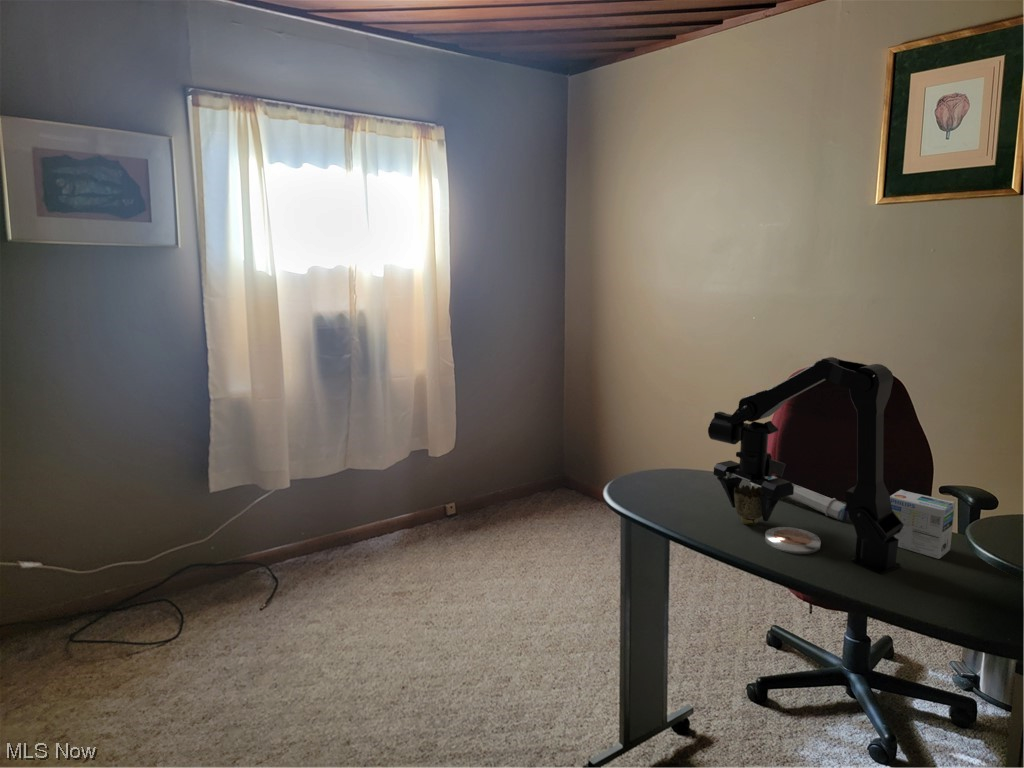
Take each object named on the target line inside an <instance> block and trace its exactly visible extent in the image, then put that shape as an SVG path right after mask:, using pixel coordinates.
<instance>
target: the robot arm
mask: <svg viewBox="0 0 1024 768" xmlns="http://www.w3.org/2000/svg"><path fill="white" fill-rule="evenodd" d="M826 380H827V381H829V382H831V383H833V384H834V385H837V386H839V387H842V388H845V389H848V390H849V396H850V400H851V403H852V405H853V407H854V409H855V410H856V420H857V422H856V423H857V424H856V428H857V429H856V484H855V486H853V487H851V488H849V489H848V490H845V494H844V495H845V502H846V503H845V505H846V508H845V511H848V517H847V518H848V519H849V521H850V522H851V523H852V524H853V527H854V530H855V533H856V539H855V540H856V541H855V550H854V551H855V553H854V554H855V555H854V556H855V557H852V558H851V562H852V563H855V564H857V565H859V566H862V567H863V568H865V569H868V570H871V571H873V572H875V573H876V574H880V575H882V574H885V573H888V572H891V571H893V570H896V569H898V568H901V566H902V565H901V563H899V562H897V557H898V548H899V547H898V540H899V539H897V538H895V537H894V535H896V534H898V533H900V531H901V530H902V528H903V526H904V524H903V523H902V522H901V521H900V519H899V518H898V517H897V516H896V514H895V513H894V512H893V511H892V506H891V501H890V496H891V495H890V492H889V491H888V489H887V487H886V484H885V481H884V437H885V436H884V431H885V430H884V429H885V428H884V423H885V416H884V415H885V409H886V406H887V404H888V401H889V399H890V397H891V393H892V388H893V383H894V375H893V372H892V371H891V370H890V369H889V368H888V367H887V366H886V365H883V364H882V363H872V364H864V363H860V362H854V361H849V360H843V359H839V358H836V357H833V356H829V357H825V358H821V359H818V360H817V361H816V362H815V363H814V364H812V365H810V366H808V367H807V368H804V369H803V370H802V371H799V372H797V373H795V374H794V375H792V376H790V377H789V378H787V379H786V380H783V381H782V382H780V383H779V384H777V385H775V386H773V387H771V388H768V389H767V388H766V389H764V390H761V391H759V392H755V393H753V394H752V393H751V394H749V395H747V396H744V397H742V398H741V399H740V400H739V402H738V408H737V409H736V410H735V411H734V413H732V414H731V413H726V412H724V411H717V412H714V415H713V418H712V419H711V421H710V423H709V426H708V428H707V433H708V437H709V439H711V440H713V441H717V442H721V443H726V444H730V445H736V444H738V443H739V442H740V450H739V451H736V452H735V457H736V458H739V463H738V462H736V461H733V460H725V461H720V462H717V463H716V464H715V465H714V467H713V475H714V476H715V477H716V479H717V480H718V481H719V483H720V484H721V486H722V488H723V490H724V491H725V494H726V496H727V498H728V500H729V502H730V504H731V507H732V508H734V509H736V508H735V498H734V488H738V486H739V487H740V484H741V482H742V481H743V480H744V481H747V482H749V483H750V482H751V483H754V484H757V485H759V486H761V491H762V493H763V494H761V495H760V500H761V509H762V516H761V517H762V521H763V522H768V521H769V520H770V518H771V515H772V513H773V511H774V510H775V507H776V506H777V504H778V502H779V501H780V500H781V499H783V498H787V497H789V495H793V493H794V485H793V484H794V483H793V482H792V481H790V480H787V479H784V478H782V477H783V474H784V470H785V467H786V463H784V462H781V461H778V460H776V459H773V455H772V453H770V452H768V445H769V444H768V443H769V435H771V434H775V433H777V432H779V428H778V427H777V426H776V425H775V424H774V423H773V422H772V420H769V421H765V422H759V421H758V420H763V419H766V418H769V417H771V416H772V415H773V414H774V413H776V412H777V411H778V410H779V409H781V407H782V406H783V405H784V404H785V403H787V401H790V400H791V399H793V398H794V397H796V396H798V395H800V394H802V393H804V392H806V391H808V390H809V389H811V388H813V387H815V386H817V385H818V384H819V385H820V384H821V383H823V382H825V381H826ZM746 422H749V423H746ZM772 475H777V476H779V477H777V478H775V479H770V480H768V479H765V477H766V476H768V477H770V476H772Z"/></svg>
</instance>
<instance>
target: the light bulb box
mask: <svg viewBox="0 0 1024 768" xmlns="http://www.w3.org/2000/svg"><path fill="white" fill-rule="evenodd" d="M890 501H891V506H892V511H893V512H894V513H895V514H896V516H897V517H898V518H899V519H900V521H901V522H902V523H903V524H904V526H903V528H902V530H901V531H900V533H898V534H896V535H894V537H895V538H897V539H899V540H898V548H900V549H904V550H907V551H911V552H915V553H918V554H921V555H924V556H928V557H932V558H935V559H937V560H938V559H940V560H941V558H942V557H944V556H945V555H946V554H947V553H948V552H949V551H950V550H951V543H952V536H953V535H952V534H953V526H954V516H955V510H956V509H955V507H956V502H955V501H952V500H948V499H947V500H946V499H943V498H937V497H933V496H930V495H925V494H920V493H915V492H911V491H906V490H904V489H899V490H898V491H896V492H895V493H893V494H891V495H890Z"/></svg>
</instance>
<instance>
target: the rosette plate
mask: <svg viewBox="0 0 1024 768" xmlns="http://www.w3.org/2000/svg"><path fill="white" fill-rule="evenodd" d="M764 541H765V543H766V544H767V545H769V546H770V547H772V548H773V549H775V550H778V551H781V552H783V553H784V552H785V553H789V554H795V555H807V554H814V553H816V552H818V551H820V550H821V538H820V537H819V536H818V535H817V534H814V533H813V532H810V531H809V530H805V529H801V528H796V527H790V526H788V527H787V526H777V527H772V528H769V529H767V530H766V531H765V534H764Z"/></svg>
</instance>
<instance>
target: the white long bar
mask: <svg viewBox="0 0 1024 768" xmlns="http://www.w3.org/2000/svg"><path fill="white" fill-rule="evenodd" d="M775 478H778V477H777V476H774V474H772V476H770V477H768V476H766V477H765V479H768V480H770V479H775ZM749 483H750V484H751V486H750V488H751V487H752V486H754V487H755V488H758V487H761V486H759V485H757V484H754V483H751V482H749ZM792 484H793V485H794V493H793V495H789V496H788V497H789V498H791V499H793V500H795V501H798V502H800V503H801V504H804V505H805V506H808V507H810V508H812V509H814V510H816V511H818V512H821V513H823V514H824V515H825V516H826V517H831V518H832V519H835V520H838V521H840V522H842V521H844V520H846V519H847V518H849V517H848V511H845V508H846V503H843V502H840V501H838V500H837V499H836V498H837V497H836V498H835V497H833V498H831V497H828V496H825V495H823V494H820V493H818V492H815V491H813V490H812V489H811V490H810V489H808V488H805V487H803V486H800V485H797V484H794V483H792Z"/></svg>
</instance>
